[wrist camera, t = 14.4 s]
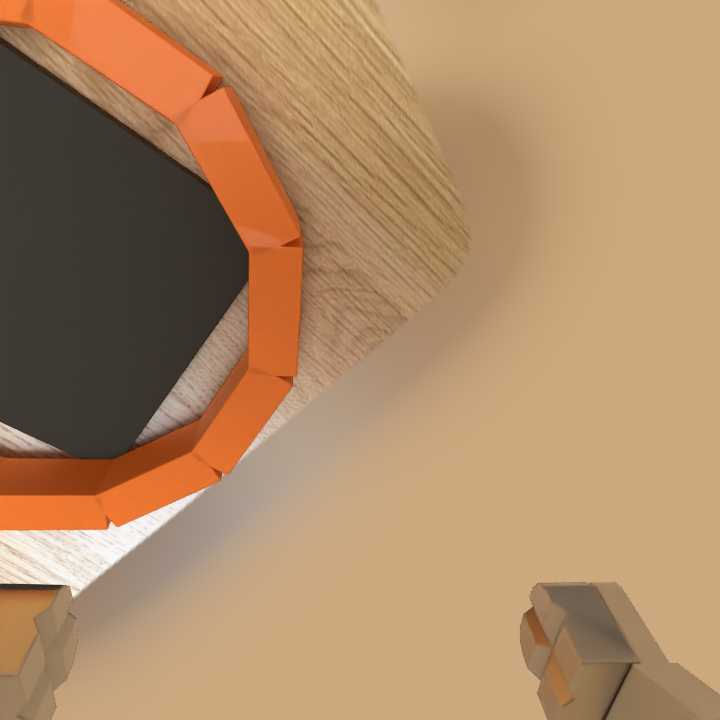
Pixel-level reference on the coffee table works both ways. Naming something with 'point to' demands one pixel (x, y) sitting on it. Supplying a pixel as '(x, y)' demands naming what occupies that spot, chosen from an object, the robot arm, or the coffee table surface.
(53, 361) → the mat
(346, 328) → the coffee table surface
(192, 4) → the coffee table surface
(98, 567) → the coffee table surface
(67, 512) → the hoop
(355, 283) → the coffee table surface
